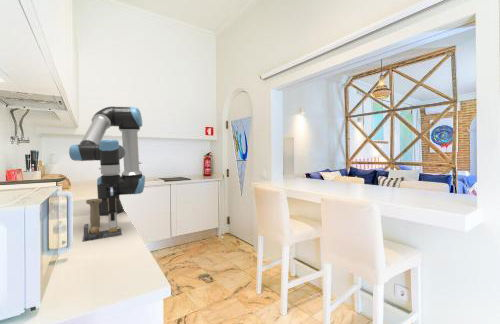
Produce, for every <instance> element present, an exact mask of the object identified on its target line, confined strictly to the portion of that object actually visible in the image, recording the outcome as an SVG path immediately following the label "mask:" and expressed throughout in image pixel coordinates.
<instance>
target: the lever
mask: <svg viewBox="0 0 500 324" xmlns="http://www.w3.org/2000/svg"><path fill="white" fill-rule="evenodd" d="M107 202H108V212H109V198H108V199H107ZM115 204H116V198H115ZM117 215H118V213H117V211H116V227H114V228H109V227H108V230H109V233H115V232H117V229H118V218H117ZM107 217H108V219H107V220H109V214H108V215H107ZM108 226H109V222H108Z"/></svg>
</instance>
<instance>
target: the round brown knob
mask: <svg viewBox="0 0 500 324" xmlns="http://www.w3.org/2000/svg"><path fill="white" fill-rule="evenodd" d="M99 232H100V227H99V228H98V227H92V228H89V229H88V233H89V234H92V233H97V235H98V234H99Z"/></svg>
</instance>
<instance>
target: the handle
mask: <svg viewBox="0 0 500 324" xmlns="http://www.w3.org/2000/svg"><path fill="white" fill-rule="evenodd" d="M101 202H102V199H98V198H93V199H86V200H85V203H86V205H89V206H90V207H89V208H90V210H89V212H90V214H89V219H90V220H89V221H90V222H89V224H90V227H91V228H92V227H98V228H99V229H100V227H101V215H99V203H101Z"/></svg>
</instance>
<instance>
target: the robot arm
mask: <svg viewBox="0 0 500 324" xmlns="http://www.w3.org/2000/svg"><path fill="white" fill-rule="evenodd" d="M110 127H118V131H120V132H121V139H122V143H121V144H122V145H120V143H119V140H118V139H103V138H104V135H105V134H106V131H107V129H110ZM141 127H143V117H142V114H141V111H140V109H139V108H138V107H135V106H134V107H132V106H108V107H103V108H102V109H100V110H98V111H97V112H95V114H94V115H93V116H92V118H91V123H90V125H89V127H88V129H87V131H86V132H85V134H84V136H83V138H82V139H81V141H80V143H79V144H78V143H77V144H72V145H70V147H69V150H68V154H69V157H70V159H71V160H72V161H75V162H87V161H92V162H93V161H99V162H100V167H98V170H100V176H99V177H98V178H97V183H96V185H97V199H102V202H101V203H99V215H100V216H108V214H109V219H108V223H109V225H108V229H109V228H114V227H116V211H117V214H120V213H122V212H124V206H123V204H122V202H121V199H120V196H122V195H138V194H139V195H140V194H142V193H143V192H144V189H145V184H146V176H145V175H143V172H142V171H141V170H140V159H139V157H140V156H139V138H138V132H140V129H141ZM121 159H123V171H122V173H121V164H120V160H121ZM120 174H121V175H120ZM108 198H109V212H108V202H107V199H108ZM115 198H116V204H115Z"/></svg>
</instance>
